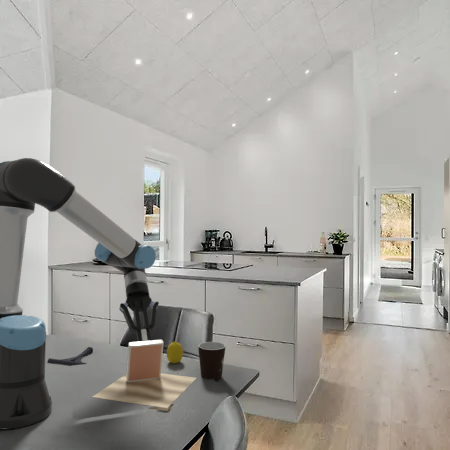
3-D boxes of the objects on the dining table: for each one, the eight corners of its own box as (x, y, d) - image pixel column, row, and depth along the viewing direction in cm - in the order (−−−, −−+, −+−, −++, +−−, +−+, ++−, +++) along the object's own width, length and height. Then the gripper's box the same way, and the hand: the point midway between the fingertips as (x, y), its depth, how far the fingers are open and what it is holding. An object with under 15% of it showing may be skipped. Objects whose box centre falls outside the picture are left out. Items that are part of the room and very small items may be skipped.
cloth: (167, 411, 102) (167, 408, 102) (92, 399, 108) (92, 396, 108) (196, 380, 123) (196, 377, 123) (132, 372, 129) (132, 369, 130)
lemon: (186, 364, 137) (186, 341, 138) (173, 368, 133) (174, 344, 133) (175, 361, 141) (176, 338, 141) (163, 364, 137) (163, 341, 137)
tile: (126, 378, 121) (128, 342, 118) (159, 374, 125) (162, 339, 122) (127, 382, 119) (129, 346, 116) (160, 378, 123) (163, 343, 120)
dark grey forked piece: (108, 355, 148) (108, 348, 148) (83, 368, 134) (83, 360, 134) (75, 351, 152) (75, 344, 152) (47, 364, 138) (47, 356, 138)
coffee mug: (215, 385, 120) (215, 351, 120) (192, 379, 125) (192, 346, 125) (235, 373, 130) (235, 342, 130) (212, 368, 134) (213, 338, 134)
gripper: (153, 293, 143) (164, 354, 127) (115, 294, 137) (122, 358, 122) (157, 280, 138) (168, 341, 122) (118, 281, 133) (125, 346, 117)
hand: (145, 350), depth 122 cm, fingers closed
